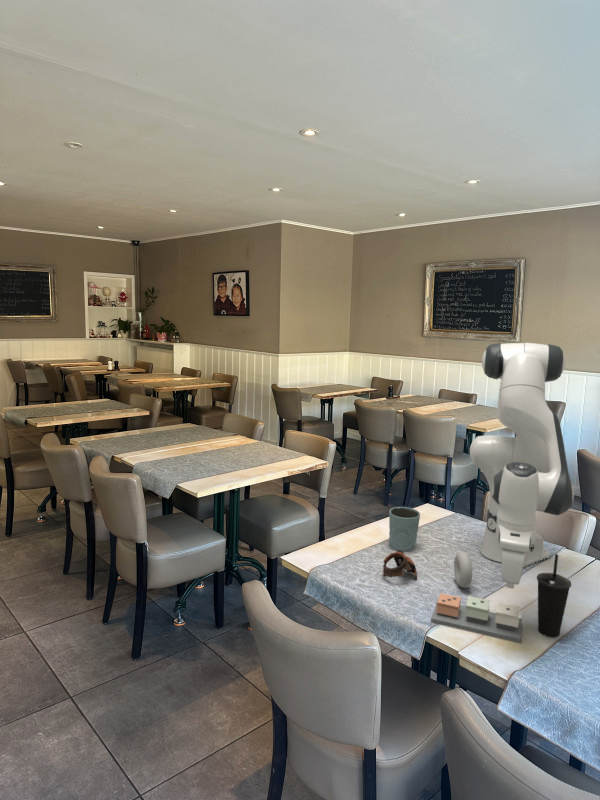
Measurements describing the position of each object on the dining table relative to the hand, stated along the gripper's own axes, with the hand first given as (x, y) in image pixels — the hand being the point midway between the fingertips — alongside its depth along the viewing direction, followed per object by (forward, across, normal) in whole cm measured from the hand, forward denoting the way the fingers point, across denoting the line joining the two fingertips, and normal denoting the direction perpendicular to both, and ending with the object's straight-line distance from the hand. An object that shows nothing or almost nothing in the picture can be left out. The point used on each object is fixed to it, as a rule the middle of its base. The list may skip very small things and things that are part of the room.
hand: (510, 585), depth 135 cm
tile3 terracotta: (+10, 0, -14) cm, 17 cm away
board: (+12, 0, -7) cm, 13 cm away
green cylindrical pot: (+11, -38, -34) cm, 53 cm away
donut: (+12, -19, -13) cm, 25 cm away
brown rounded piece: (+12, -17, -30) cm, 37 cm away
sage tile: (+9, 0, -7) cm, 11 cm away
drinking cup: (+12, -3, +10) cm, 16 cm away
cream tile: (+9, 0, 0) cm, 9 cm away
